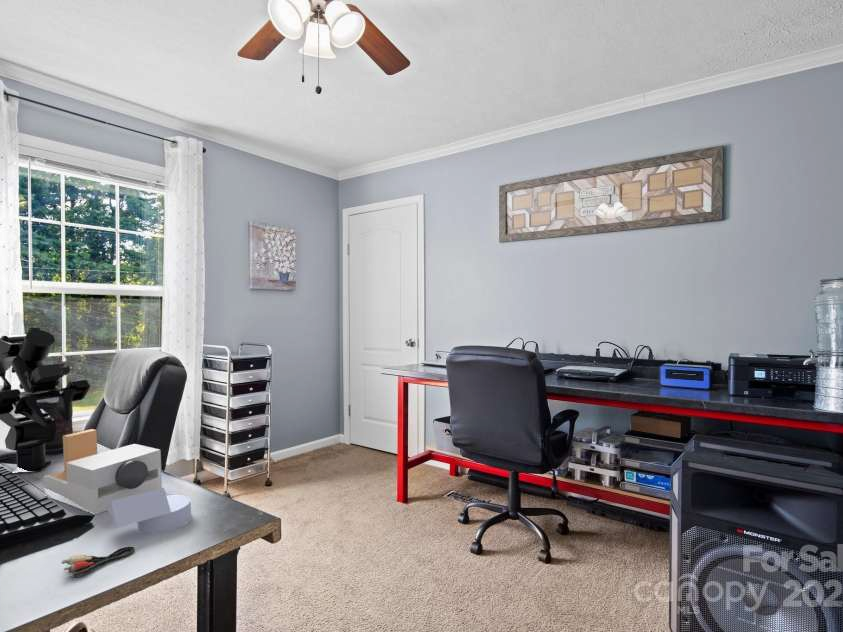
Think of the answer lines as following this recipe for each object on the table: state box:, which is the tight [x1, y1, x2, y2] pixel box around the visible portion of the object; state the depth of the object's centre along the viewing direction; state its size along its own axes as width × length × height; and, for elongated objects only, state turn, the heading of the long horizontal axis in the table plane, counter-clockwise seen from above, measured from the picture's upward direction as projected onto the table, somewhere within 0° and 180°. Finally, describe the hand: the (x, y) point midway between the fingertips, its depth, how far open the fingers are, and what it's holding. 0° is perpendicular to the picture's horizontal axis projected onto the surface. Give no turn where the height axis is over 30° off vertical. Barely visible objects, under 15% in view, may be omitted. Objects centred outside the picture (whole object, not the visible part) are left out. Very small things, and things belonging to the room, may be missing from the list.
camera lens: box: [37, 398, 74, 457], centre depth 134 cm, size 8×8×15 cm
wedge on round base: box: [107, 486, 192, 534], centre depth 89 cm, size 9×7×13 cm
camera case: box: [43, 443, 163, 516], centre depth 104 cm, size 22×14×9 cm, turn 61°
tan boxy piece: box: [50, 428, 98, 481], centre depth 108 cm, size 8×12×9 cm
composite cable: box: [61, 546, 135, 579], centre depth 76 cm, size 10×5×2 cm, turn 129°
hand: (57, 422), depth 113 cm, fingers open, 4 cm apart
